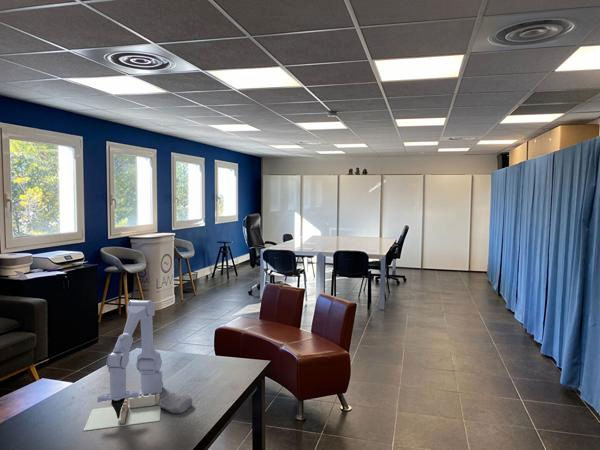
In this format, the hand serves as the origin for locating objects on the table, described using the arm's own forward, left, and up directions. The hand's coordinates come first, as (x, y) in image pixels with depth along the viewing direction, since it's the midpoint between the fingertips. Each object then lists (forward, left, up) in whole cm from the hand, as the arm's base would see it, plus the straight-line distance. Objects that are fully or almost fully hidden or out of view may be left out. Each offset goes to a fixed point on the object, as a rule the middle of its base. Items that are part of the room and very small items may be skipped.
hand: (118, 417), depth 166 cm
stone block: (-21, -5, -2) cm, 22 cm away
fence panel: (-2, -2, -1) cm, 3 cm away
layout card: (-2, -4, -1) cm, 5 cm away
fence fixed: (-8, -9, -1) cm, 12 cm away
